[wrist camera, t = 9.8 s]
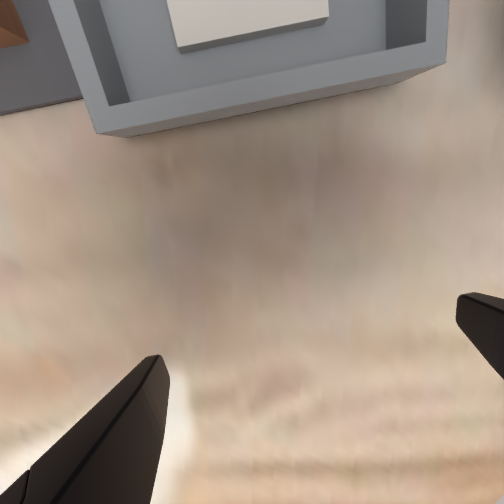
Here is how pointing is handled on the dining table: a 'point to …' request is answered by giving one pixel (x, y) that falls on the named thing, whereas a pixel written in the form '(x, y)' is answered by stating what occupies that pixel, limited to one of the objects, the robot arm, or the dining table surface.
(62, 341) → the dining table surface
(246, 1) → the crate
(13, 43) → the block
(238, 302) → the dining table surface
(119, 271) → the dining table surface
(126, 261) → the dining table surface
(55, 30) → the mat
